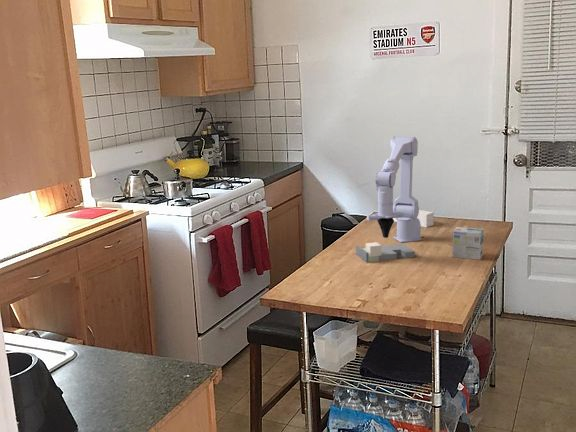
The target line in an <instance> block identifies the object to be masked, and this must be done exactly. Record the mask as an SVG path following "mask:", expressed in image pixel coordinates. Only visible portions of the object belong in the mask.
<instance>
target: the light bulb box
mask: <svg viewBox="0 0 576 432" xmlns="http://www.w3.org/2000/svg"><path fill="white" fill-rule="evenodd" d="M484 235H485V234H484V228H474V227H462V226H456V227H455V228H454V229H453V230H452V253H451V254H452V256H451V257H452V258H456V259H457V258H458V259H466V260H468V259H469V260H477V261H478V260H481V259H482V258H483V256H484Z"/></svg>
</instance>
